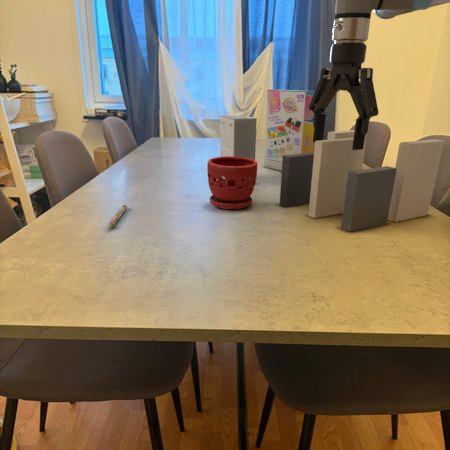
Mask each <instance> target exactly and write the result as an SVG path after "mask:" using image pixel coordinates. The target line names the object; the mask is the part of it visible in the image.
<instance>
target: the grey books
mask: <svg viewBox="0 0 450 450" xmlns="http://www.w3.org/2000/svg"><path fill="white" fill-rule="evenodd" d="M313 160H314V152H313V153H303V154H293V155H283V158H282V171H281V173H280V174H281V176H280V193H279V205H281V206H283V207H285V208H289V207H294V206H301V205H306V204H309V203H310V193H311V182H312V171H313ZM396 171H397V168H395V167H392V166H387V165H385V166H379V167H371V168H362V170H354V171H348V179H347V187H346V194H345V202H344V209H343V213H342V218H341V225H340V229H342V230H345V231H347V232H351V233H352V232H355V231H360V230H365V229H369V228H374V227H375V228H376V227H379V226H383V225H387V224H388V221H389V220H388V215H389V209H390V204H391V198H392V193H393V187H394V182H395V176H396Z"/></svg>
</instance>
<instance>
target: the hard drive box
mask: <svg viewBox="0 0 450 450" xmlns="http://www.w3.org/2000/svg"><path fill="white" fill-rule="evenodd" d="M257 120H258V118H256V117H252V116H246V115H241V114H240V115H239V114H237V115H235V114H234V115H233V114H232V115H220V157H225V156H231V157H244V158H249V159H253V160H255V161H256V148H257V147H256V143H257ZM221 178H222V179H225V178H224V177H223V176H222V177H221ZM250 179H251V178H250Z"/></svg>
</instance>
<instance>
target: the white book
mask: <svg viewBox="0 0 450 450" xmlns="http://www.w3.org/2000/svg"><path fill="white" fill-rule="evenodd" d="M353 139H354V138H343V139H331V140H327V139H323V140H320V141H315V150H314V160H313V171H312V182H311V193H310V203H308V204H309V205H308V215H307V216H308V217H310V218H313V219H317V218H323V217H328V216H333V215H339V214H343V209H344V202H345V194H346V187H347V179H348V171H354V170H356V165H357V158H358V150H352V146H353Z"/></svg>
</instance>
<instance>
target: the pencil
mask: <svg viewBox="0 0 450 450" xmlns="http://www.w3.org/2000/svg"><path fill="white" fill-rule="evenodd" d="M127 208H128V205H126V204H122V206H121V208H120V209H119V210H118V212H117V213H116V214H115V216H114V217H113V218H112V219H111V221H110V223H109V224H108V229H113V228H114V226H115V225H116V224H117V222H118V221H119V220H120V218H121V217H122V216H123V214H124V213H125V212H126V210H127Z"/></svg>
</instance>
